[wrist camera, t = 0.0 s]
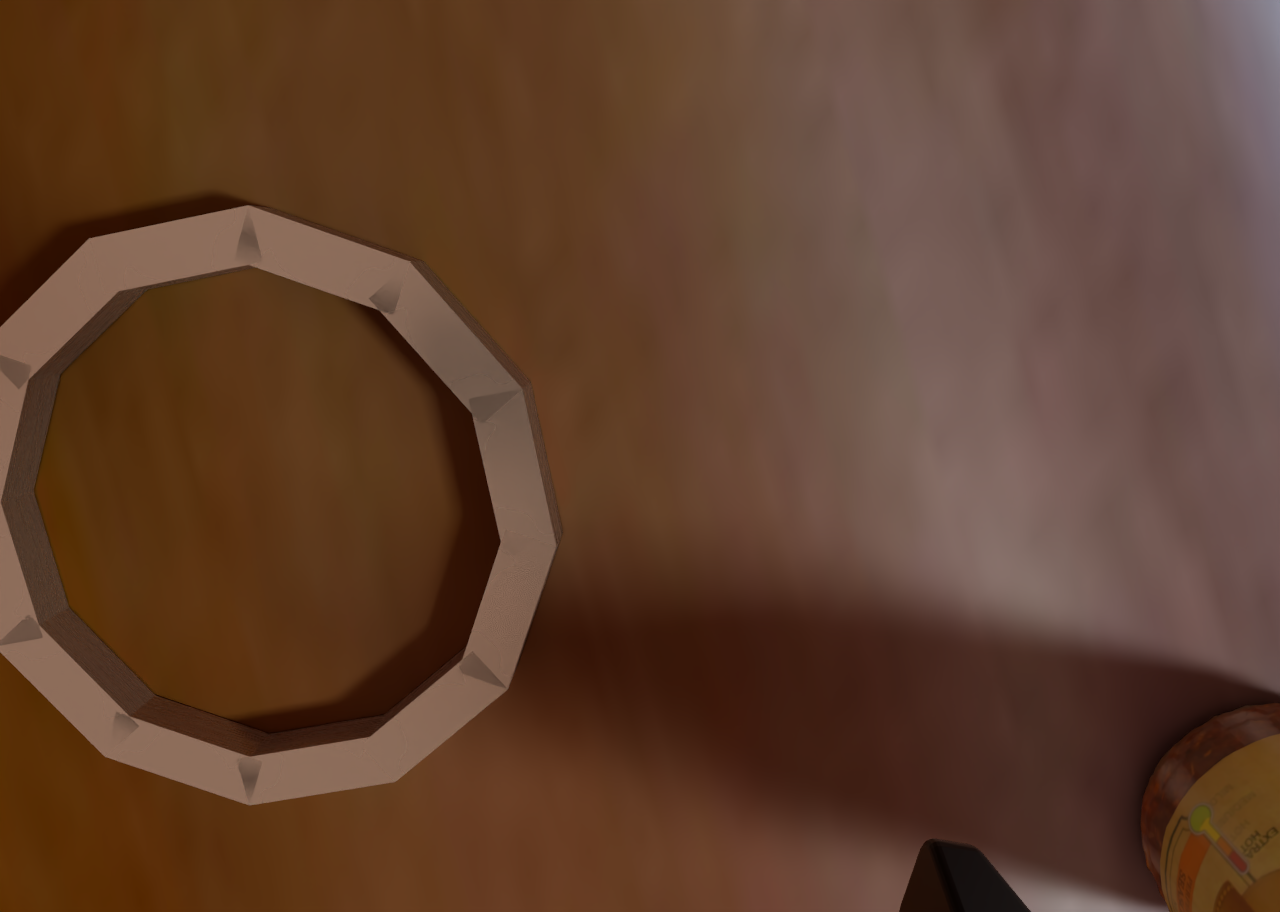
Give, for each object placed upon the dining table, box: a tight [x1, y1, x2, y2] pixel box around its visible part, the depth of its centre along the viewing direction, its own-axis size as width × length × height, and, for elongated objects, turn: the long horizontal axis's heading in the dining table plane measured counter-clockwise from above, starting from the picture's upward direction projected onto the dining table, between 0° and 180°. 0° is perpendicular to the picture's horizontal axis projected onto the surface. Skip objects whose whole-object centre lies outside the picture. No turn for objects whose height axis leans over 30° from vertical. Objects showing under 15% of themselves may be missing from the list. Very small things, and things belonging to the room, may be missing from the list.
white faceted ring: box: [0, 205, 563, 805], centre depth 24 cm, size 13×13×1 cm
